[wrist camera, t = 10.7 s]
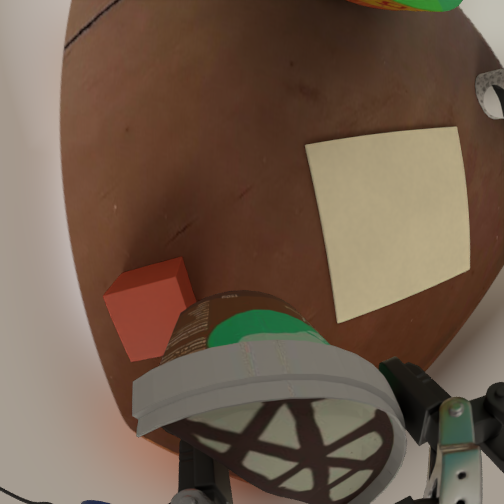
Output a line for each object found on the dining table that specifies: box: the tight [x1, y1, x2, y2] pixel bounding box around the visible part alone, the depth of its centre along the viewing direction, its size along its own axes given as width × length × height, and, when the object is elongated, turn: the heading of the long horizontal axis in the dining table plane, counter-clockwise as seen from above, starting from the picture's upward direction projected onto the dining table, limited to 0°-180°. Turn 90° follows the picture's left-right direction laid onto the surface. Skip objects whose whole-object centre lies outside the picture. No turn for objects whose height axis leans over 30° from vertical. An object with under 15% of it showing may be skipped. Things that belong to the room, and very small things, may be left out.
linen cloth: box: [305, 127, 470, 323], centre depth 29 cm, size 20×18×1 cm
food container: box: [132, 290, 407, 504], centre depth 13 cm, size 12×6×10 cm, turn 39°
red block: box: [103, 256, 196, 362], centre depth 25 cm, size 6×6×6 cm
